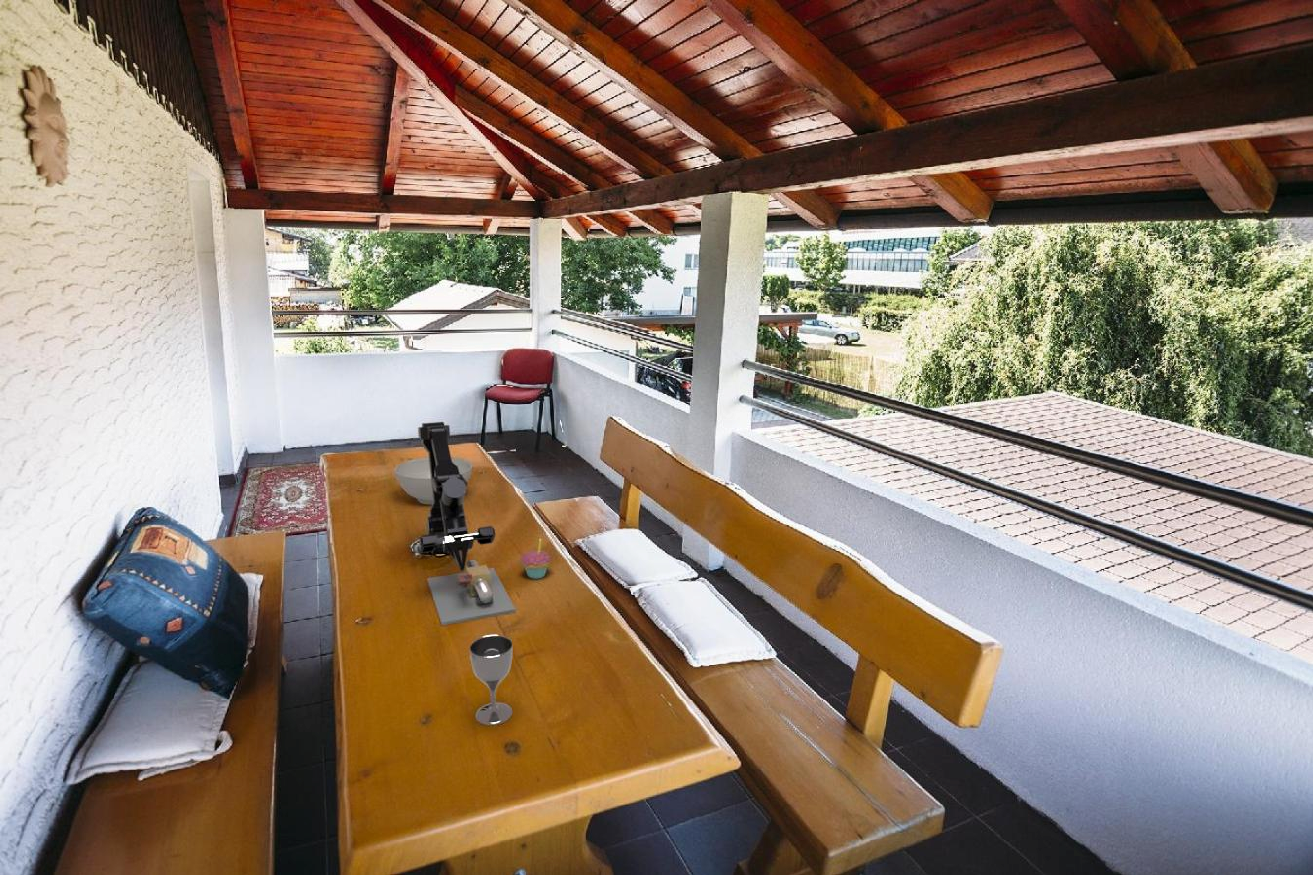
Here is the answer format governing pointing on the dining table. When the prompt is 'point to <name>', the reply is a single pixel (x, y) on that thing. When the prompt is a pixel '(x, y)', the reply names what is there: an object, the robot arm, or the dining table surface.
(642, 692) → the dining table surface
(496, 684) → the wine glass
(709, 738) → the dining table surface
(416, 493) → the decorative bowl
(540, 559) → the cupcake
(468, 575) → the valve lever
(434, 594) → the mounting board
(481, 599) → the ball valve
